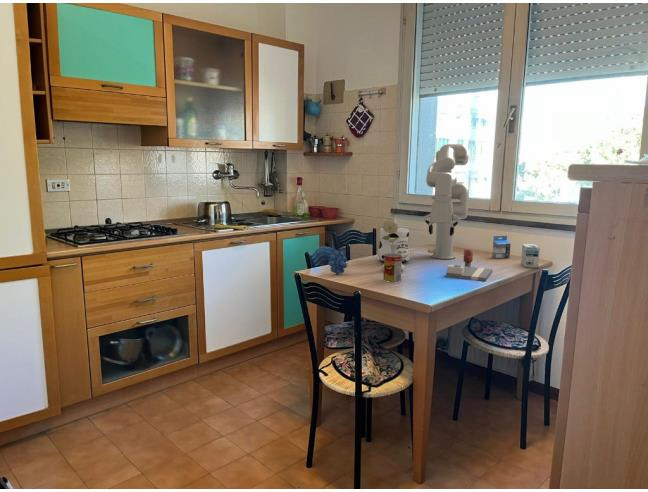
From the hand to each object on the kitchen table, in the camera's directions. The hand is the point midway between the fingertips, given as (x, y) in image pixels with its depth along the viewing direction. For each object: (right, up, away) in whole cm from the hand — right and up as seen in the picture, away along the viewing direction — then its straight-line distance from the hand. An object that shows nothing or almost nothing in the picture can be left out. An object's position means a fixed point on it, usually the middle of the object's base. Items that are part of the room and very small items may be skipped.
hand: (441, 234), depth 225 cm
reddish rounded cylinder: (+18, -16, +18) cm, 30 cm away
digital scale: (+14, -19, +2) cm, 24 cm away
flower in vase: (-22, -18, +10) cm, 30 cm away
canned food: (-25, -21, -10) cm, 34 cm away
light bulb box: (+52, -16, +22) cm, 59 cm away
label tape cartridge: (+44, -12, +41) cm, 62 cm away
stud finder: (+7, -18, -1) cm, 19 cm away
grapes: (-49, -20, 0) cm, 53 cm away
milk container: (-18, -14, +30) cm, 38 cm away
